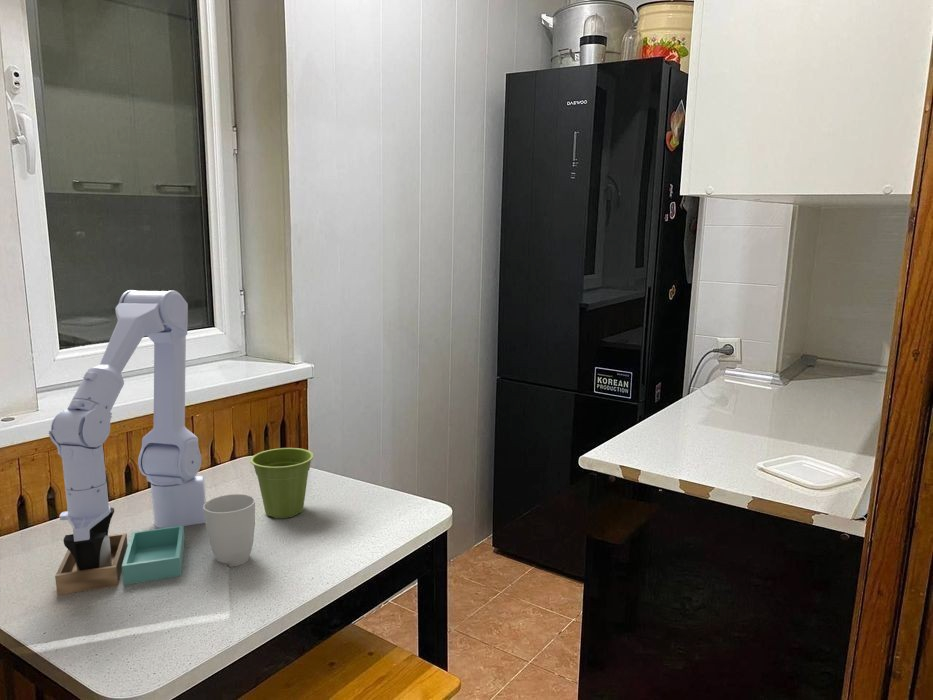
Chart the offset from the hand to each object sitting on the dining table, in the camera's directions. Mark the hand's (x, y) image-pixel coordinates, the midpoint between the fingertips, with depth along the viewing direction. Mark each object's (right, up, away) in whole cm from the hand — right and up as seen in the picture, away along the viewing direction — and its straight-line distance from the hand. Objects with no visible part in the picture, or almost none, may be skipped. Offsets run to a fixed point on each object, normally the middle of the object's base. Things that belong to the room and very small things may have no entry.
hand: (94, 565), depth 113 cm
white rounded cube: (0, -1, 0) cm, 1 cm away
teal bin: (+8, -1, +3) cm, 9 cm away
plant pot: (+24, +3, +25) cm, 35 cm away
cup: (+20, -1, +5) cm, 21 cm away
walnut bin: (0, -2, 0) cm, 2 cm away
